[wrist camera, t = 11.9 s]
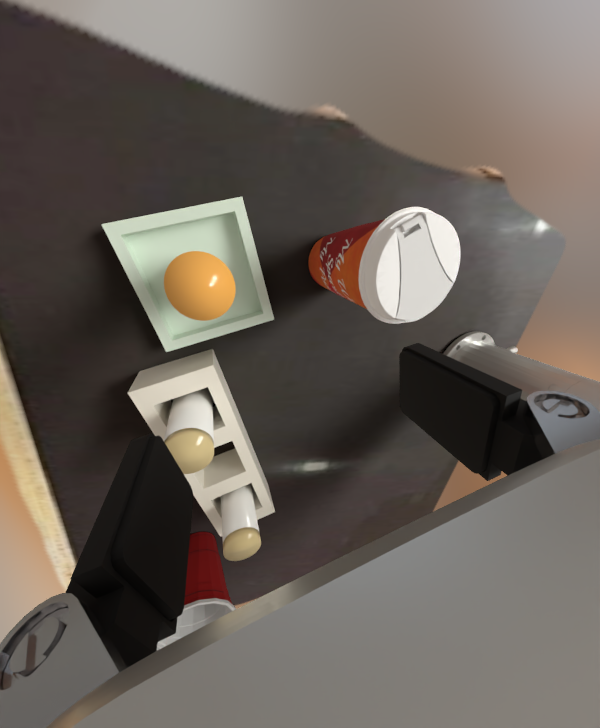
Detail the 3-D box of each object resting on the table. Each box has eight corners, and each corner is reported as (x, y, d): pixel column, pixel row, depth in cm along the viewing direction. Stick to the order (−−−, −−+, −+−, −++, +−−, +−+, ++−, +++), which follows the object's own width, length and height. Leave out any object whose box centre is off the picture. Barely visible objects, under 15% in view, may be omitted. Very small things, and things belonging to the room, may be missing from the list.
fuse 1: (204, 373, 31) (203, 427, 22) (217, 401, 33) (221, 462, 24) (168, 385, 30) (150, 447, 21) (183, 413, 32) (173, 481, 23)
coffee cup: (287, 244, 28) (354, 241, 15) (348, 210, 29) (461, 180, 16) (315, 309, 33) (386, 348, 20) (368, 278, 33) (470, 297, 20)
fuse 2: (244, 461, 39) (255, 530, 29) (251, 479, 41) (265, 549, 31) (215, 472, 38) (217, 547, 28) (225, 490, 40) (230, 565, 30)
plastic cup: (234, 515, 43) (243, 599, 32) (226, 556, 46) (232, 644, 36) (162, 524, 39) (146, 625, 28) (160, 569, 42) (145, 673, 32)
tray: (239, 201, 25) (242, 196, 23) (269, 314, 31) (274, 319, 29) (111, 226, 23) (101, 224, 21) (169, 344, 29) (166, 352, 26)
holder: (212, 348, 30) (213, 365, 26) (268, 485, 43) (275, 511, 38) (139, 371, 29) (127, 393, 24) (219, 506, 41) (220, 536, 37)
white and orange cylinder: (216, 250, 26) (223, 244, 16) (229, 294, 28) (243, 311, 18) (171, 260, 25) (151, 259, 15) (188, 304, 27) (180, 328, 17)
